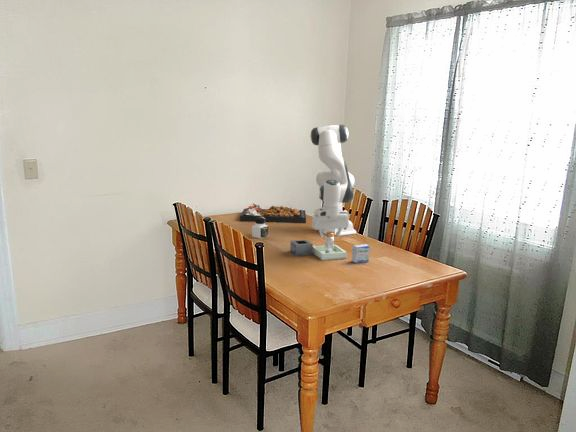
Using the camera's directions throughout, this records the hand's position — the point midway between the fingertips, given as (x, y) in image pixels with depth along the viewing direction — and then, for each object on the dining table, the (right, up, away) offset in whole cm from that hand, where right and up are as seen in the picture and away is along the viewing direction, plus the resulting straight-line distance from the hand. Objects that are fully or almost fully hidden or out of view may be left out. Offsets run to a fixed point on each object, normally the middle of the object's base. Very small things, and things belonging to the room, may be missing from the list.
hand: (329, 236), depth 254 cm
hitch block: (-15, -9, +6) cm, 19 cm away
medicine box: (+15, -13, -6) cm, 21 cm away
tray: (0, -10, +2) cm, 11 cm away
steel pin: (0, -10, +2) cm, 10 cm away
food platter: (-32, +8, +85) cm, 91 cm away
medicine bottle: (-39, -2, +36) cm, 53 cm away
